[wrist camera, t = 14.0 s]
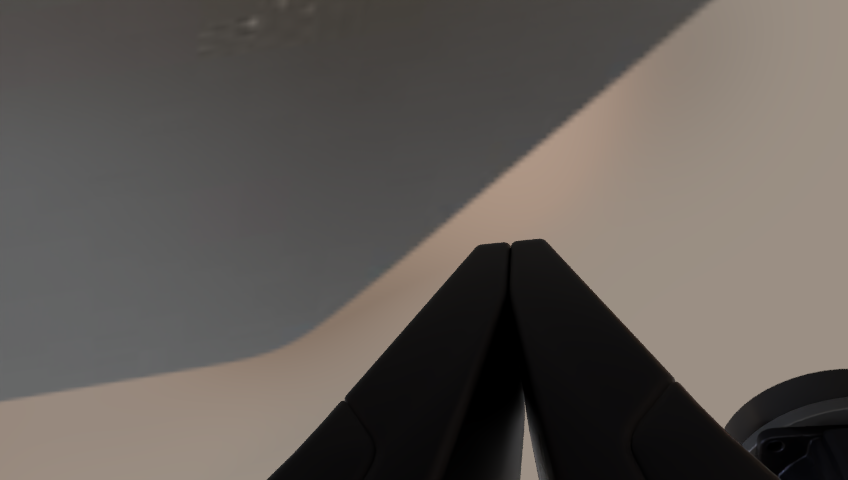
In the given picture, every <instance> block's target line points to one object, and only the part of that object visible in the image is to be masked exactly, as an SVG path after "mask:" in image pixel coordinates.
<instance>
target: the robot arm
mask: <svg viewBox="0 0 848 480" xmlns="http://www.w3.org/2000/svg"><path fill="white" fill-rule="evenodd" d="M525 405H526V412H527V419H528V425H529V431H530V436H531V441H532V446H533V452H534V457H535V462H536V467H537V472H538V477H539V480H848V424H846V425H824V426H802V427H781V428H769V429H766V430H764V431H762V432H761V433H760V434H758V437H757V441H756V452H755V457H754V456H753V455H752V454H751V453H750V452H749V451H747V450H746V449H745V448H744V447H743V446H742V445H741V444H740V443H738V442H737V441H736V440H735V439H734V438H733V437H732V436H730V435H729V434H728V433H727V432H726V431H725V430H724V429H723V428H722V427H721V426H720V425H719V424H718V423H717V422H716V421H715V420H714V419H713V418H712V417H711V416H710V415H709V414H708V413H707V412H706V411H705V410H704V409H703V408H702V407H701V406H700V405H699V404H698V403H697V402H696V401H695V400H694V399H693V397H692V396H691V395H690V394H689V393H688V392H687V391H686V390H685V389H684V388H683V387H682V385H681V384H679V383H678V382H675V379H674V377H672V375H671V374H670V373H669V372H668V371H667V370H666V369H665V368H664V367H663V366H662V365H661V364H660V362H659V361H658V360H657V359H656V358H655V357H654V356H653V355H652V354H651V353H650V352H649V351H648V350H647V349H646V348H645V346H644V345H643V344H642V343H641V342H640V341H639V340H638V339H637V338H636V337H635V336H634V335H633V334H632V333H631V332H630V331H629V329H628V328H627V327H626V326H625V325H624V324H623V323H622V322H621V321H620V320H619V319H618V318H617V317H616V315H615V314H614V313H613V312H612V311H611V310H610V309H609V308H608V307H607V306H606V305H605V304H604V303H603V302H602V301H601V300H600V299H599V297H598V296H597V295H596V294H595V293H594V292H593V291H592V290H591V289H590V288H589V287H588V286H587V285H586V284H585V282H584V281H583V280H582V279H581V278H580V277H579V276H578V275H577V274H576V273H575V272H574V271H573V270H572V269H571V268H570V266H569V265H568V264H567V263H566V262H565V261H564V260H563V259H562V258H561V257H560V256H559V255H558V254H557V253H556V251H555V250H554V249H553V248H552V247H551V246H550V245H549V244H548V243H547V242H546V241H545V240H543V239H533V240H523V241H516V242H514V243H512V245H511V246H510V245H509V244H508V243H505V242H503V243H492V244H482V245H479V246H477V247H476V248H475V249H474V250H473V251H472V252H471V254H470V255H469V256H468V257H467V258H466V259H465V260H464V261H463V263H462V264H461V265H460V266H459V267H458V268H457V270H456V271H455V272H454V273H453V274H452V275H451V277H450V278H449V279H448V280H447V281H446V282H445V283H444V285H443V286H442V287H441V288H440V289H439V290H438V291H437V293H436V294H435V295H434V296H433V297H432V298H431V299H430V300H429V302H428V303H427V304H426V305H425V306H424V307H423V308H422V310H421V311H420V312H419V313H418V314H417V315H416V316H415V318H414V319H413V320H412V321H411V322H410V323H409V324H408V326H407V327H406V328H405V329H404V330H403V331H402V332H401V334H400V335H399V336H398V337H397V338H396V339H395V340H394V342H393V343H392V344H391V345H390V346H389V347H388V348H387V350H386V351H385V352H384V353H383V354H382V355H381V356H380V358H379V359H378V360H377V361H376V362H375V363H374V364H373V366H372V367H371V368H370V369H369V370H368V371H367V373H366V374H365V375H364V376H363V377H362V378H361V379H360V380H359V382H358V383H357V384H356V385H355V386H354V387H353V388H352V390H351V391H350V392H349V393H348V394H347V395H346V397H345V401H341V402H340V403H339V404H338V405H337V406H336V408H335V409H334V410H333V411H332V412H331V413H330V414H329V415H328V417H327V418H326V419H325V420H324V421H323V422H322V424H320V426H319V427H318V428H317V429H316V430H315V431H314V432H313V433H312V434H311V435H310V436H309V437H308V439H307V440H306V441H305V442H304V443H303V444H302V445H301V446H300V447H299V448H298V449H297V451H295V453H294V454H293V455H292V456H291V457H290V458H289V459H287V460H286V461H285V463H283V464H282V465H281V466H280V467H279V468H278V469H277V470H276V471H275V472H274V473H273V474H272V475H271V476H270V477H269V478H268V479H267V480H520V474H521V461H522V449H523V437H524V420H525ZM772 442H774V443H772Z"/></svg>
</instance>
